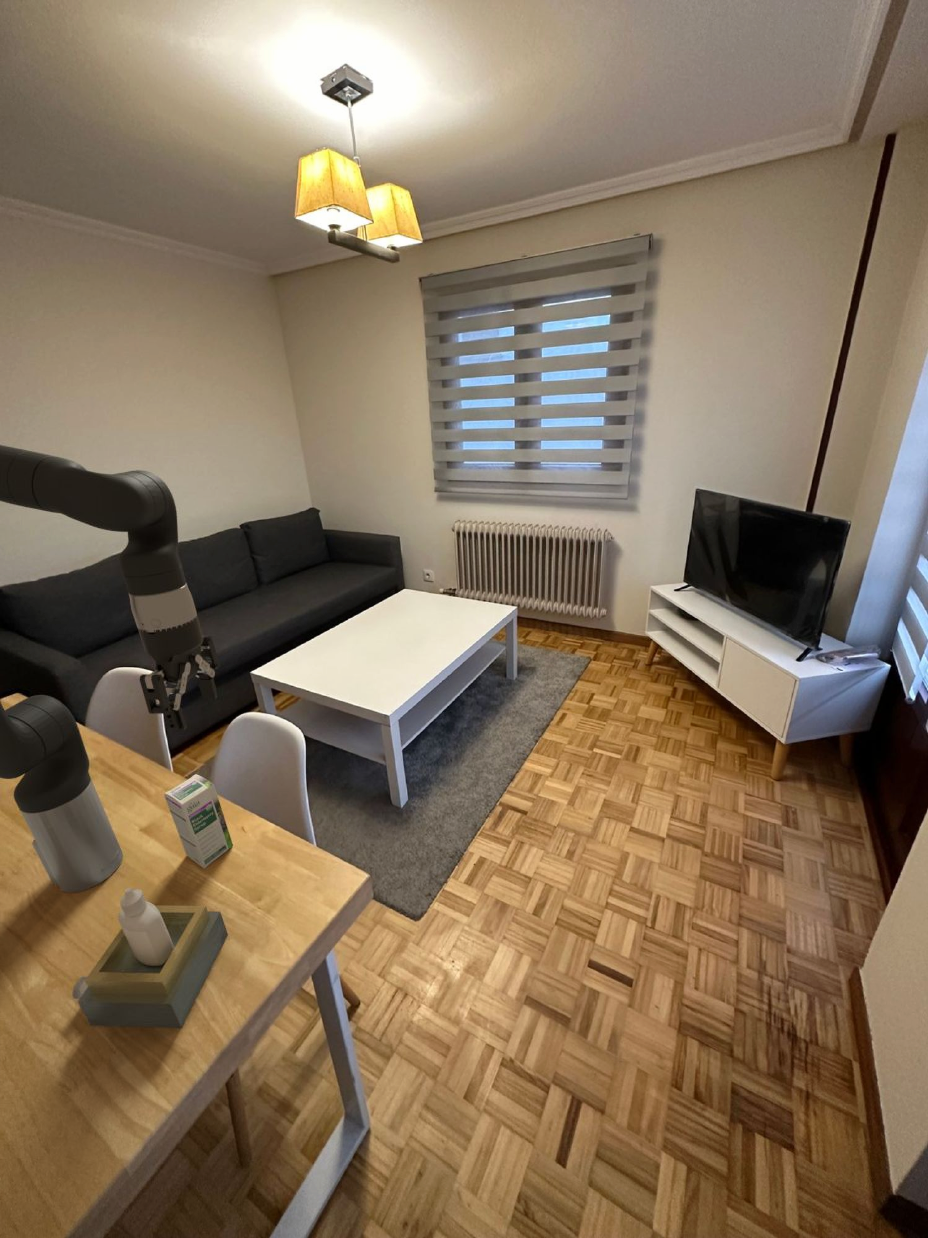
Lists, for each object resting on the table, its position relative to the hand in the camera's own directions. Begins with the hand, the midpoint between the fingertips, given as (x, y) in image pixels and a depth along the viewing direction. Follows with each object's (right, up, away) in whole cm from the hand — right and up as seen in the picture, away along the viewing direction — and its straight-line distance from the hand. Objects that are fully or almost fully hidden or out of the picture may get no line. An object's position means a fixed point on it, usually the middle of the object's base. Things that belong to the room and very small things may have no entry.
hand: (195, 713), depth 75 cm
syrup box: (-4, -27, +12) cm, 30 cm away
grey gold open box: (-1, -35, -8) cm, 36 cm away
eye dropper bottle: (0, -31, -10) cm, 32 cm away
